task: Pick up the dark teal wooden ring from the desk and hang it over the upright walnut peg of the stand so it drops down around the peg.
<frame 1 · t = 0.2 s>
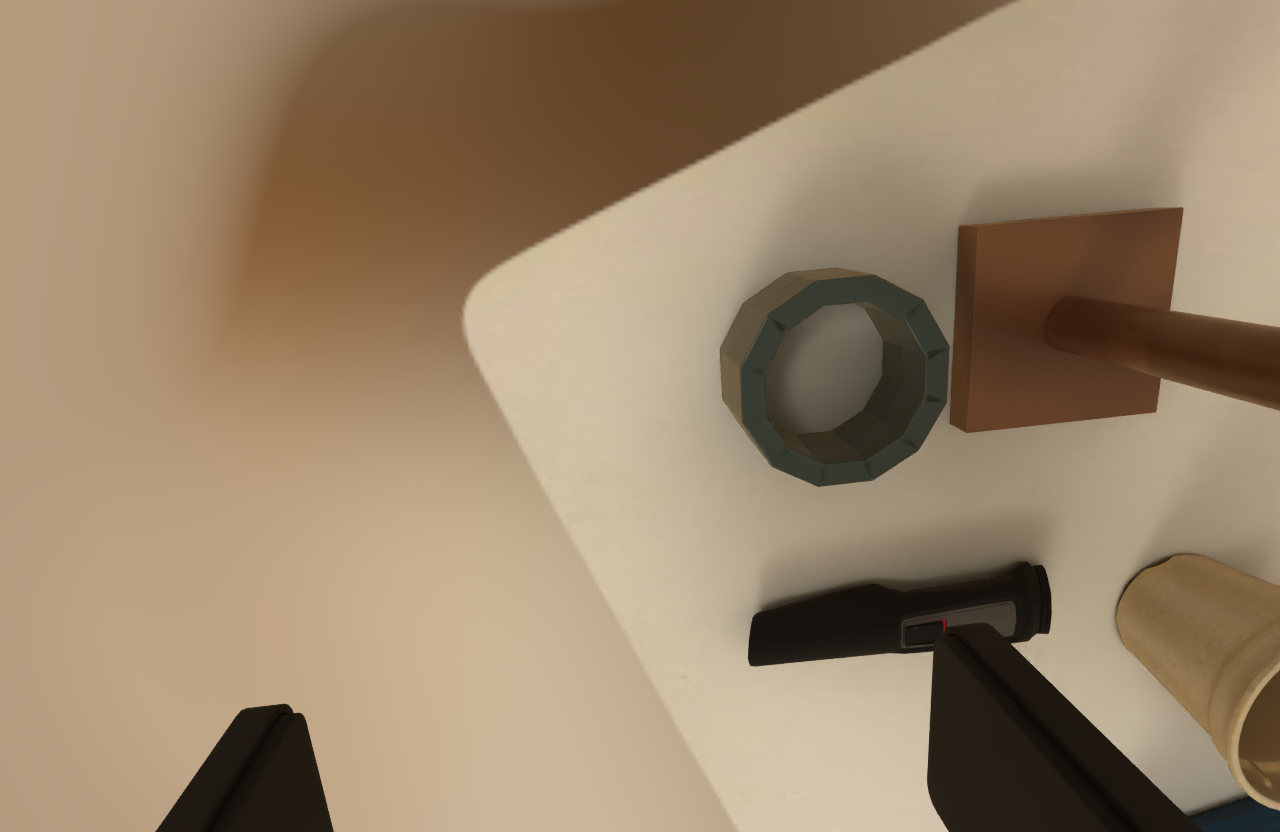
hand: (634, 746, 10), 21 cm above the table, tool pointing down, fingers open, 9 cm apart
electric trimmer: (891, 605, 35), on the table
stand: (1049, 319, 31), on the table
ring: (812, 364, 31), on the table
flower pot: (1165, 604, 36), on the table
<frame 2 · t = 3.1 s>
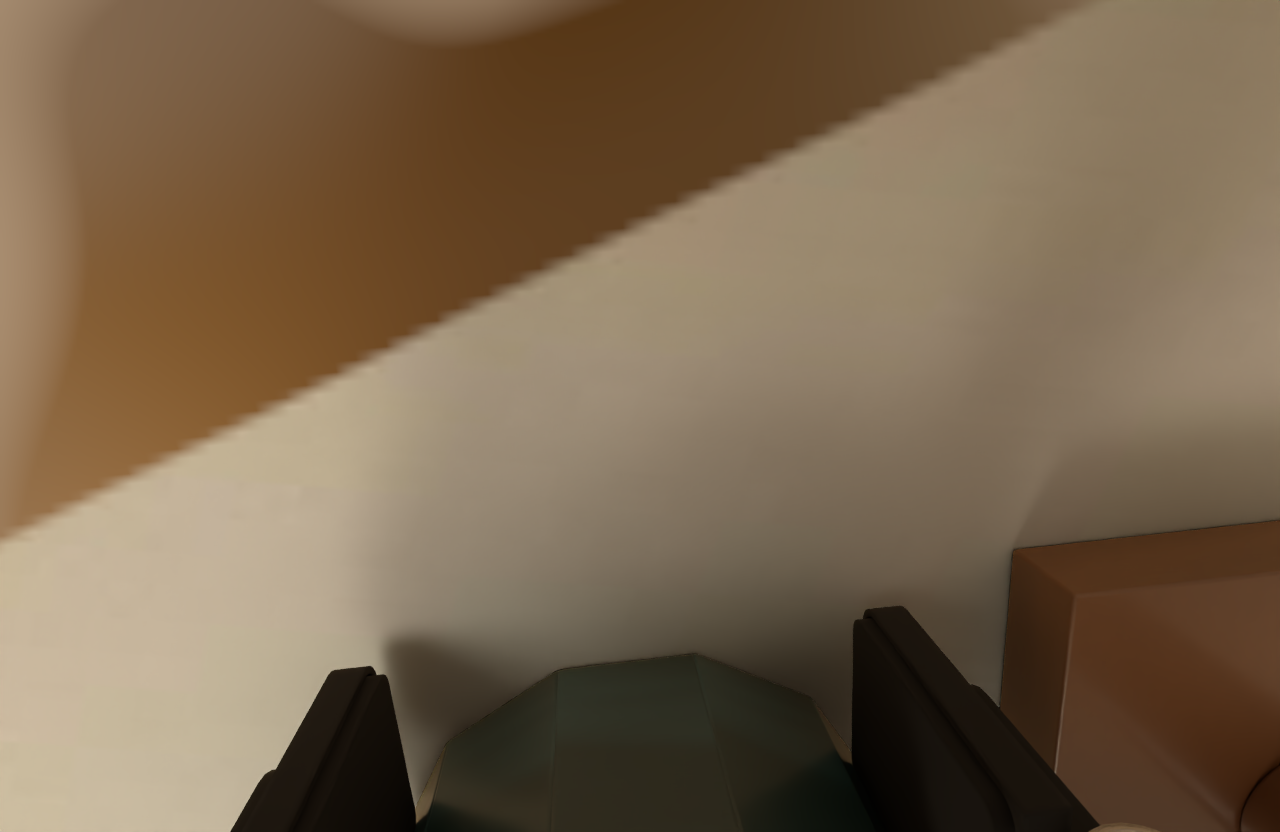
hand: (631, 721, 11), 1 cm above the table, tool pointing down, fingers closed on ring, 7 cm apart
stand: (1225, 740, 13), on the table
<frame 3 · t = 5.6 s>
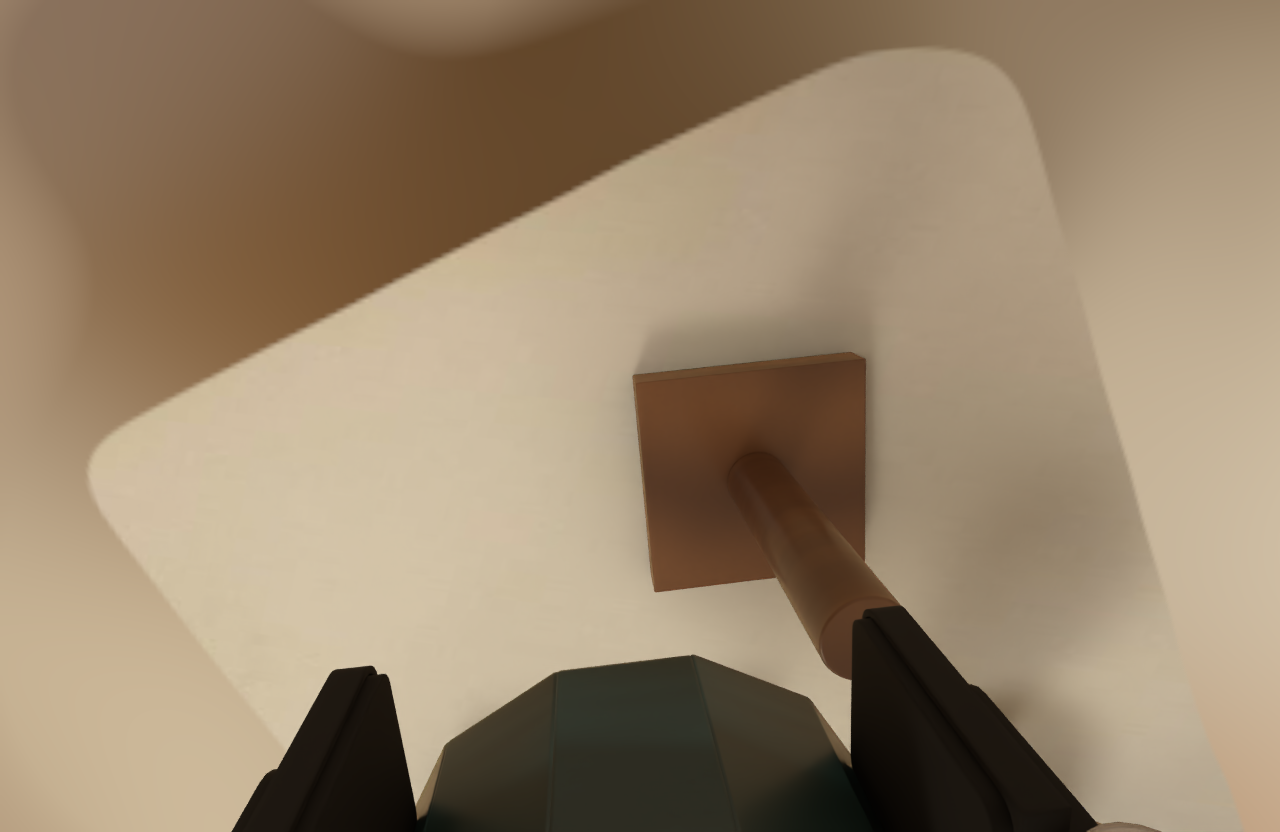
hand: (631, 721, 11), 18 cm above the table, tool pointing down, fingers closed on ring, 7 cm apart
stand: (747, 467, 29), on the table
when the fingers open (11 cm above the table, at t = 8.6 s): ring drops 8 cm, resting on stand.
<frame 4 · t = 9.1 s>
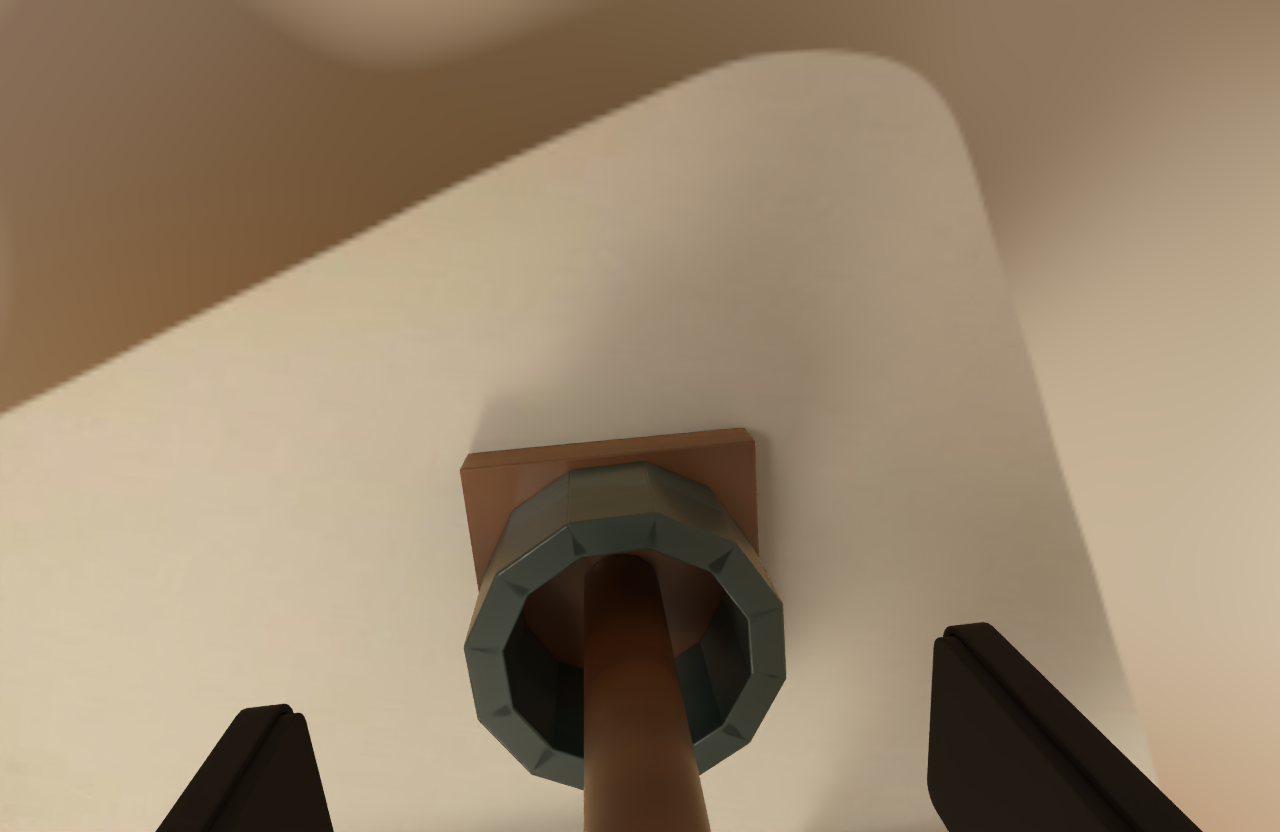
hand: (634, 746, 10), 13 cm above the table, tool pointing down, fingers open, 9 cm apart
stand: (619, 565, 23), on the table
ring: (621, 587, 22), point 1 cm above the table, touching stand
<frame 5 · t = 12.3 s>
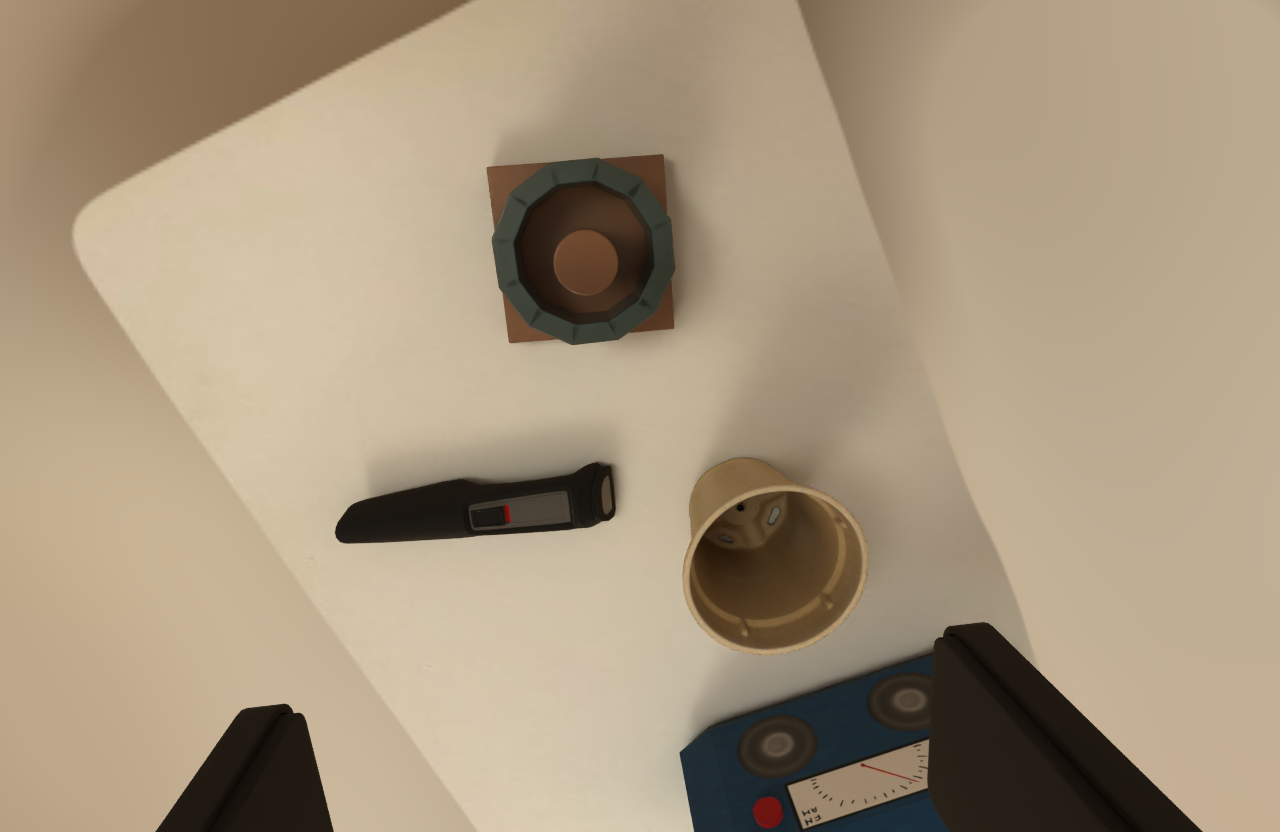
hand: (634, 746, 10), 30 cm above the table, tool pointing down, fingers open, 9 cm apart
electric trimmer: (490, 501, 41), on the table
radio: (831, 721, 48), on the table
stand: (584, 250, 38), on the table
ring: (584, 251, 36), point 1 cm above the table, touching stand
flower pot: (738, 504, 43), on the table
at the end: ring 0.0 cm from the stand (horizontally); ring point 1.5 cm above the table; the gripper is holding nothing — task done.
